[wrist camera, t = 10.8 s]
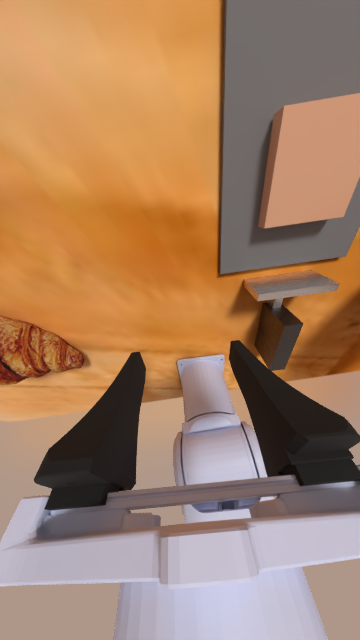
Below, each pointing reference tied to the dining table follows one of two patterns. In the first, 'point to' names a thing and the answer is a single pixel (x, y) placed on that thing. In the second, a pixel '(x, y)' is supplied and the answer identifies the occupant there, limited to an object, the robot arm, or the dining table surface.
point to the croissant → (32, 352)
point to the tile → (312, 161)
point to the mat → (258, 111)
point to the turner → (282, 311)
